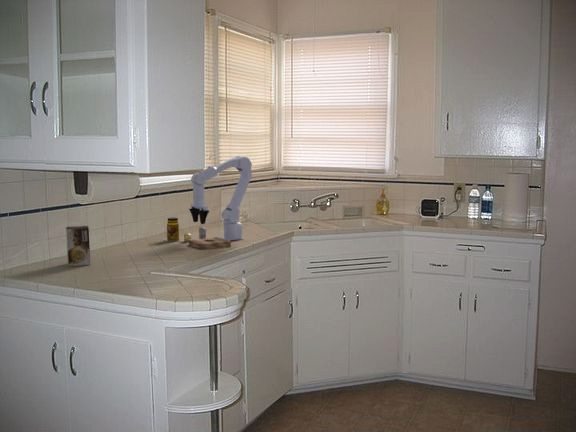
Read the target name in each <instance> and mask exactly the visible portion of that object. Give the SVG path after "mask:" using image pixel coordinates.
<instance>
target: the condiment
mask: <svg viewBox="0 0 576 432" xmlns="http://www.w3.org/2000/svg"><path fill="white" fill-rule="evenodd" d="M166 237H167V238H166V239H165V238H164V239H163V241H165V242H168V243H175V242H176V243H177V242H182V240H181V239H180V225H179V218H178V217H176V216H175V217H172V216H171V217H168V218H167V223H166Z"/></svg>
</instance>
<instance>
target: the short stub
mask: <svg viewBox="0 0 576 432" xmlns="http://www.w3.org/2000/svg"><path fill="white" fill-rule="evenodd" d="M189 240H192V233H184V234H183V242H184V243H189Z"/></svg>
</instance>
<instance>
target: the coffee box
mask: <svg viewBox="0 0 576 432" xmlns="http://www.w3.org/2000/svg"><path fill="white" fill-rule="evenodd" d="M65 231H66V248H67V249H66V251H67V252H66V253H67V266H68V267H79V266H89V265H91V249H90V248H91V247H90V228H89V225H78V226H77V225H75V226H66V227H65Z"/></svg>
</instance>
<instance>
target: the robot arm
mask: <svg viewBox="0 0 576 432" xmlns="http://www.w3.org/2000/svg"><path fill="white" fill-rule="evenodd" d="M252 165H253V164H252V161H251V160H250V158H249V157H248V156H240V155H238V156H237V155H236V156H235V157H232V158H230V159H228V160H226V161H224V162H222V163H221V164H219V165H217V166H213V165H212V166H211V165H208V166H207V168H205V169H203V170H201V169H200V170H199V172H194V173H193V174H192V176H191V178H190V181H191V183H192V200H193V201H192V203H190V208H189V209H188V210H189V212H190V214H191V217H192V220H193V223H197V222H200V225H205V224H206V220H207V216H208V214H209V213H210V209H209V210H208V206H207V205H205V184H206V182H208V181H210V180H212V179H214V178H215V177H218V174H219V173H222V172H223V171H226V170H228V169H230V168H235V169H236V170H237V171H238V173H239V175H240V177H239V179H238V181H237V184H236V187H235V189H234V191H233V195H232V197H231V199H230V202H229V203H228V204H227V205H226V207H225V209H224V210H222V213H221V217H222V219H223V237H220V238H221V239H225V240H228V241H236V240H237V241H238V240H243V239H244V238H243V225H242V223H241V222H240V221H239V220H240V212H241V209H240V206H241V204H242V202H243V199H244V197H245V195H246V194H245V193H246V191H247V190H248V189H247V188H248V187H249V184H250V181H251V179H252Z"/></svg>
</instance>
